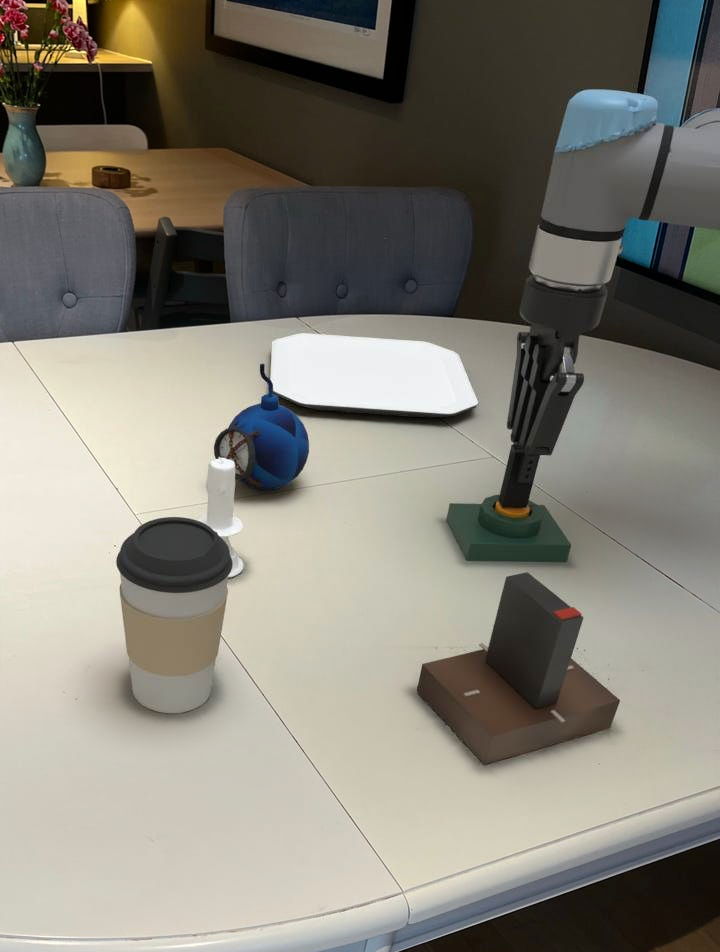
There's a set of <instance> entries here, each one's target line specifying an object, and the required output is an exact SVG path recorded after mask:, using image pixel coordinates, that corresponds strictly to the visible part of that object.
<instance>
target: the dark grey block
mask: <svg viewBox="0 0 720 952" xmlns="http://www.w3.org/2000/svg"><path fill="white" fill-rule="evenodd" d="M497 607H498V608H497V611H496V615H495V620H494V622H493V628H492V630H491V636H490V639H489V642H488V647H487V648H488V651H487V655H486V658H485V661H486V662H487V663H489V664H490V665H491V666H492V667H493V668H494V669H495V670H496V671H497V672H498V673H499V674H500V675H501V676H502V677H503V678H504V679H505V680H506V681H507V682H508V683H509V684H510V685H511V686H513V687H514V688H515V689H516V690H517V691H518V692H519V693H520V694H521V695H522V696H523V697H524V698H525V699H526V700H527V701H528V702H529V703H530V704H531V705H532V706H533V707H534V708H540V707H544V706H547V705H551V704H555V703H557V701H558V698H559V694H560V691H561V688H562V685H563V682H564V679H565V675H566V672H567V669H568V666H569V663H570V659H571V658H572V656H573V653H574V650H575V647H576V644H577V640H578V636H579V634H580V631H581V628H582V625H583V622H584V616H583V615H582V613H581V612H580V611H579V610H578V609H576V608H575V607H574V606H572V607H571V606H570V605H569V604H568V603H567V602H565V600H563V599H562V598H561V597H559V596H558V595H557V594H555V593H554V592H553V591H551V590H550V589H549V588H548V587H547V586H545V585H544V583H542V582H541V581H539V580H538V579H537V578H536V577H534V576H533V575H532V574H530V573H529V572H527V571H526V572H521V573H517V574H512V575H508V576H507V575H506V576H505V579H504V584H503V588H502V592H501V595H500V599H499V604H498V606H497Z"/></svg>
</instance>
